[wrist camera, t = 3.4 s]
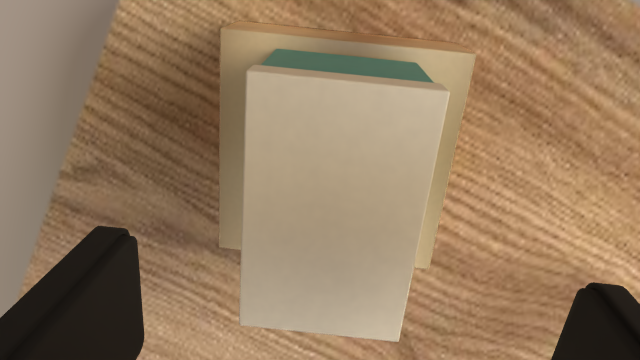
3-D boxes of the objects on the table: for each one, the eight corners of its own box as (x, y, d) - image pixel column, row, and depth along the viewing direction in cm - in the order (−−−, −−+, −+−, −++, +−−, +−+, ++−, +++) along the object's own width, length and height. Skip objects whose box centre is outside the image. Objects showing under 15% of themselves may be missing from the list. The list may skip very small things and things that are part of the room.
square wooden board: (233, 215, 22) (218, 248, 20) (237, 20, 19) (219, 27, 16) (418, 234, 22) (429, 270, 20) (457, 42, 19) (477, 53, 16)
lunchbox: (385, 257, 19) (398, 342, 15) (263, 244, 20) (238, 326, 15) (420, 59, 16) (450, 91, 12) (273, 44, 16) (245, 70, 12)
